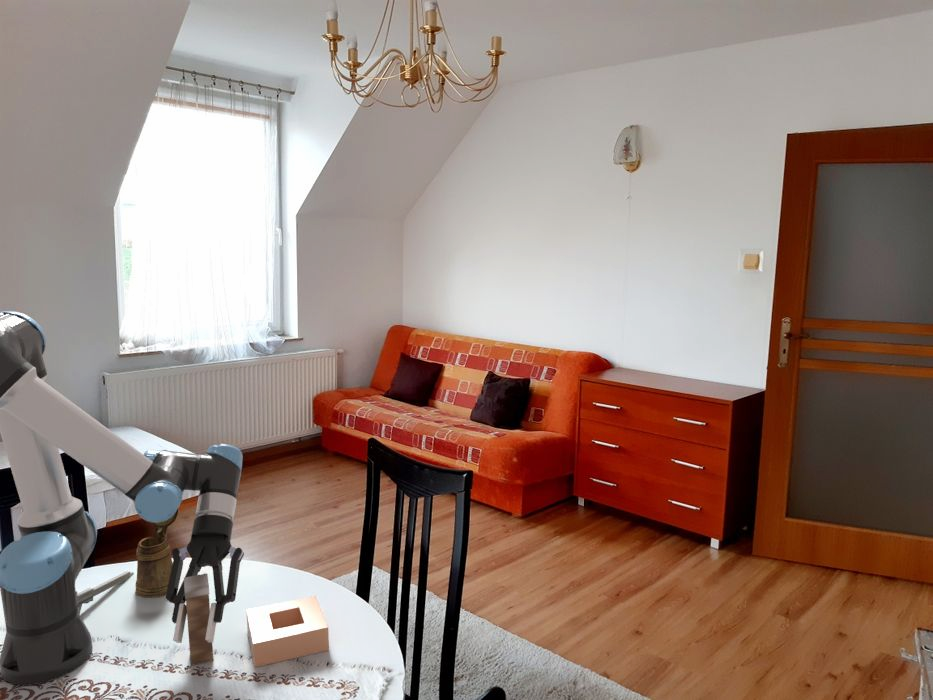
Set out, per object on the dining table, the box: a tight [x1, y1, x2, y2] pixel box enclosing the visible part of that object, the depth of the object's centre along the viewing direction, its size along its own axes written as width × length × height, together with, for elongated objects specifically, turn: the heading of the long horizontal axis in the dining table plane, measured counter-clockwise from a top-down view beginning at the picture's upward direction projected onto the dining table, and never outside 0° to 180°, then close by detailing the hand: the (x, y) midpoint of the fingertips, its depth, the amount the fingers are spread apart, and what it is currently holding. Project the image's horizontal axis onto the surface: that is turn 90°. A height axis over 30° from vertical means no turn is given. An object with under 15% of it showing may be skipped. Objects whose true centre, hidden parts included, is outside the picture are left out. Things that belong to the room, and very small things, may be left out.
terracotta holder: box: [245, 595, 330, 668], centre depth 141 cm, size 14×12×5 cm
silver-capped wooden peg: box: [183, 573, 214, 666], centre depth 135 cm, size 4×4×16 cm
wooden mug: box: [134, 508, 179, 599], centre depth 161 cm, size 9×14×18 cm, turn 177°
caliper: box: [76, 570, 135, 616], centre depth 156 cm, size 20×1×6 cm, turn 169°
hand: (193, 641), depth 132 cm, fingers closed on silver-capped wooden peg, 5 cm apart
